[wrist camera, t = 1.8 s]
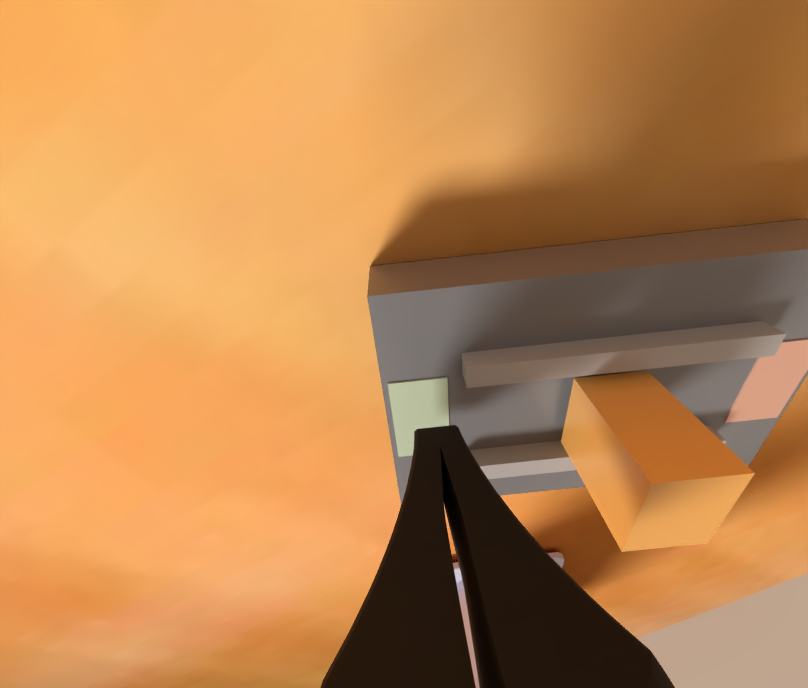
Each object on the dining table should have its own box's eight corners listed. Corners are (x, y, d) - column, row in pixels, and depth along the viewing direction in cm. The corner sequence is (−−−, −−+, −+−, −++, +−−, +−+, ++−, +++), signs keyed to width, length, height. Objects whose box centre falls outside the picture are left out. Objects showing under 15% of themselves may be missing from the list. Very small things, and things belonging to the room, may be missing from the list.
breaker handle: (625, 435, 13) (708, 542, 10) (560, 441, 13) (621, 552, 10) (647, 370, 12) (755, 473, 8) (573, 378, 12) (652, 483, 8)
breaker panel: (702, 427, 18) (762, 486, 15) (399, 459, 18) (402, 523, 15) (805, 218, 12) (930, 248, 9) (370, 265, 12) (366, 309, 10)
